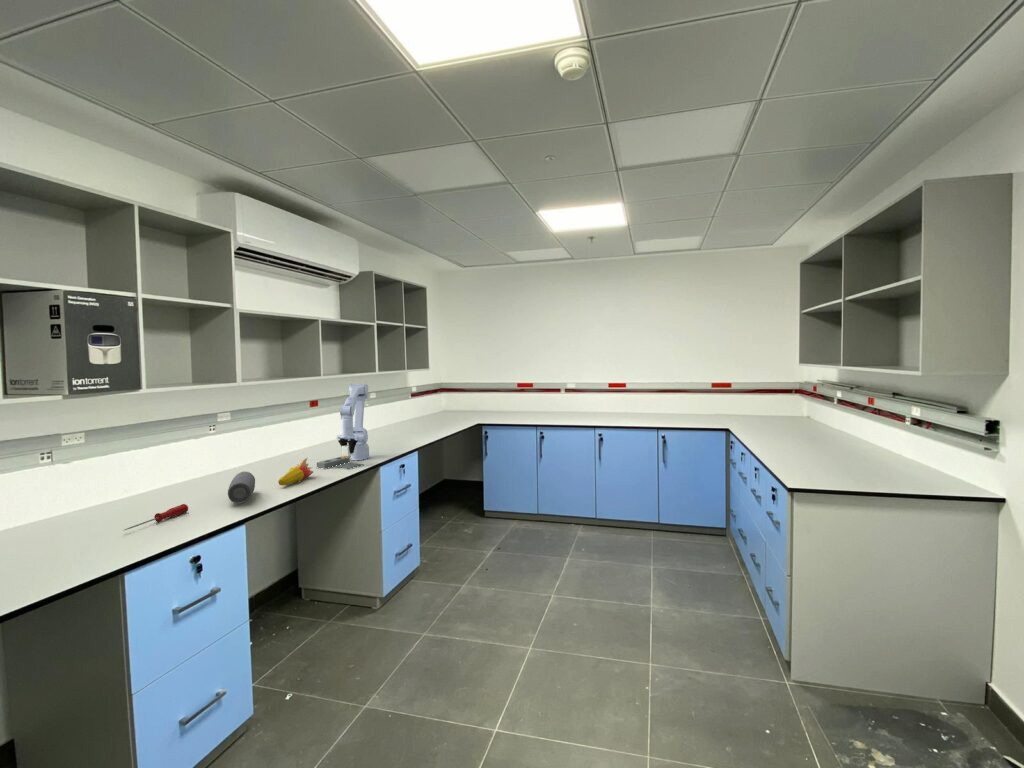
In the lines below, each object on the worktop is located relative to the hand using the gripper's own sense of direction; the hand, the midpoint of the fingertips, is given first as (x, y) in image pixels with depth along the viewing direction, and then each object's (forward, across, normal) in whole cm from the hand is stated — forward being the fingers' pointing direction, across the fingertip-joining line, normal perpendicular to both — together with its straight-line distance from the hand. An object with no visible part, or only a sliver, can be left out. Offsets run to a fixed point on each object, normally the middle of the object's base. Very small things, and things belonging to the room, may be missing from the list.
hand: (348, 452), depth 268 cm
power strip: (+8, -10, -1) cm, 13 cm away
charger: (+3, 0, 0) cm, 3 cm away
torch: (+8, +1, -36) cm, 37 cm away
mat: (+8, 0, 0) cm, 8 cm away
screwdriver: (+8, +6, -99) cm, 99 cm away
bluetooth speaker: (+8, +6, -66) cm, 67 cm away
